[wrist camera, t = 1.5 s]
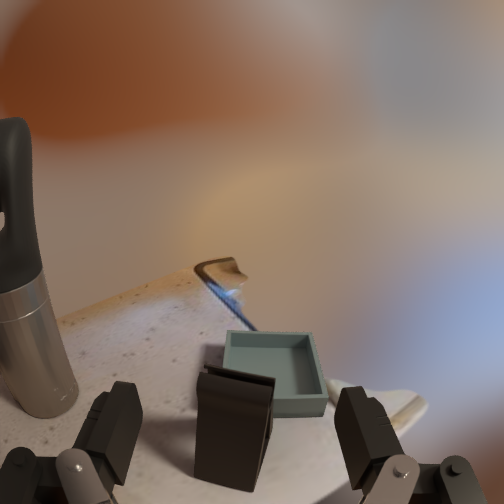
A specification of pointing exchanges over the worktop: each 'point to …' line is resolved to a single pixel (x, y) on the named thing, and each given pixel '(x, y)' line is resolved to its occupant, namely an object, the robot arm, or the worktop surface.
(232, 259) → the worktop surface
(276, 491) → the worktop surface
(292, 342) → the slate tray
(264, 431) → the phone stand
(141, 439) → the worktop surface
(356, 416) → the robot arm
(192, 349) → the worktop surface
